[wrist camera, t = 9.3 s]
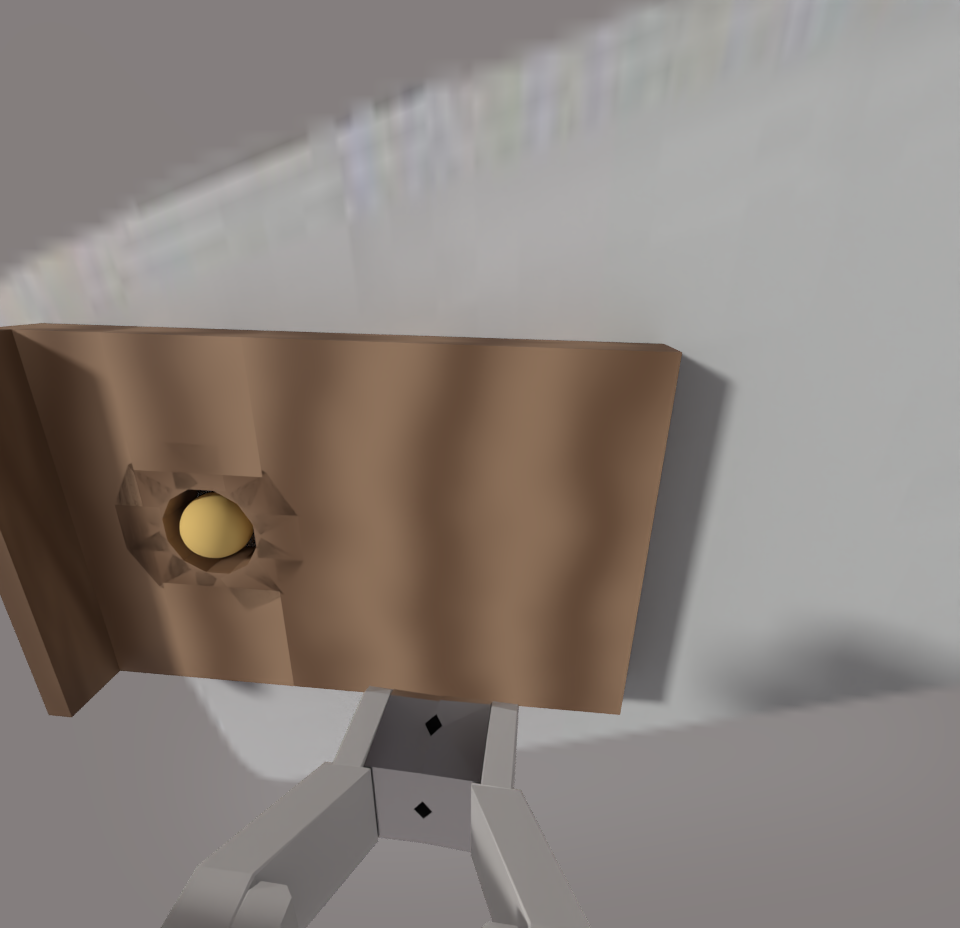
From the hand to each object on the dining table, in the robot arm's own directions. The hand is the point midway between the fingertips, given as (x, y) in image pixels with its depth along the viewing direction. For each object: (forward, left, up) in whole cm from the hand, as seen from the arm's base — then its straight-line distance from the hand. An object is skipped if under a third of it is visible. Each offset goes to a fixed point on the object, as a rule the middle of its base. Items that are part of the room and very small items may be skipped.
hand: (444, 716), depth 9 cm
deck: (+7, +3, -14) cm, 16 cm away
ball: (+13, +3, -13) cm, 18 cm away
